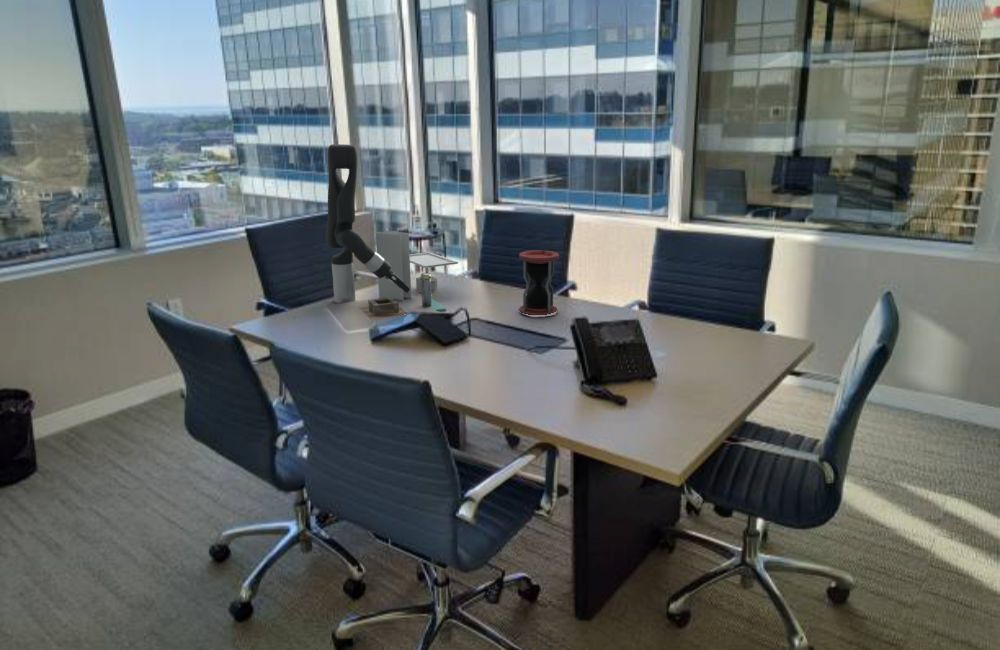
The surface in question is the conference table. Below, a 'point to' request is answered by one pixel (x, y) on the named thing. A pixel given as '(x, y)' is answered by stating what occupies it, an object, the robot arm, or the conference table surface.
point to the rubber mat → (437, 306)
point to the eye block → (383, 308)
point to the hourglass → (538, 282)
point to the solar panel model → (429, 266)
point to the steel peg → (426, 289)
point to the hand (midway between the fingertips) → (405, 288)
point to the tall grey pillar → (394, 263)
